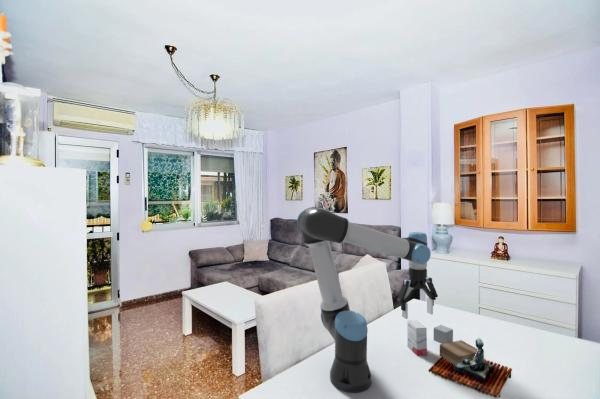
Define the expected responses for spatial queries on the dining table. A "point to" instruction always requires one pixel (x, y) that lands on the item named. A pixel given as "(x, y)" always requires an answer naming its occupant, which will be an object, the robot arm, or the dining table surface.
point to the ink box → (417, 337)
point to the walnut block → (457, 351)
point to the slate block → (443, 334)
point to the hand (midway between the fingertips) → (417, 315)
